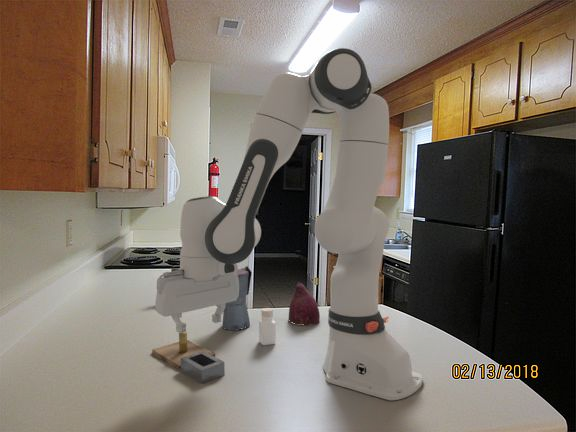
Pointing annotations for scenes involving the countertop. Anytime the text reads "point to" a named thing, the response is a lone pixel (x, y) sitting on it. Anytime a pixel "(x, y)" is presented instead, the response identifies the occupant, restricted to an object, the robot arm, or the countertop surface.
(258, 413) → the countertop surface
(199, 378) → the link
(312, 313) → the vegetable
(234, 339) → the countertop surface
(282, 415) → the countertop surface
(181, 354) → the keeper
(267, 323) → the pepper shaker
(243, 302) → the moka pot
